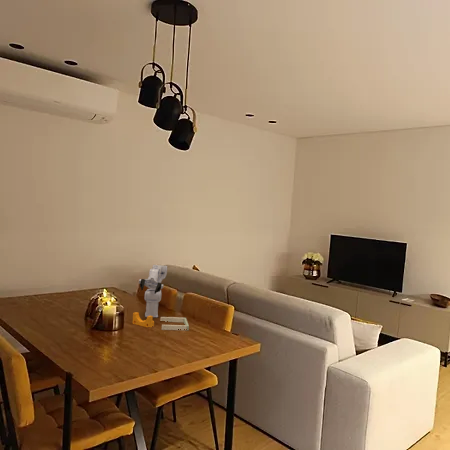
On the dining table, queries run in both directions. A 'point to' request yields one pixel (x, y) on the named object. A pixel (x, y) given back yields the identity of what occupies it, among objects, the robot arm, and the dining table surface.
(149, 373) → the dining table surface
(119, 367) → the dining table surface
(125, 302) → the dining table surface
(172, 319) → the bracket
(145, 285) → the robot arm
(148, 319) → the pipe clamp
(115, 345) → the dining table surface
